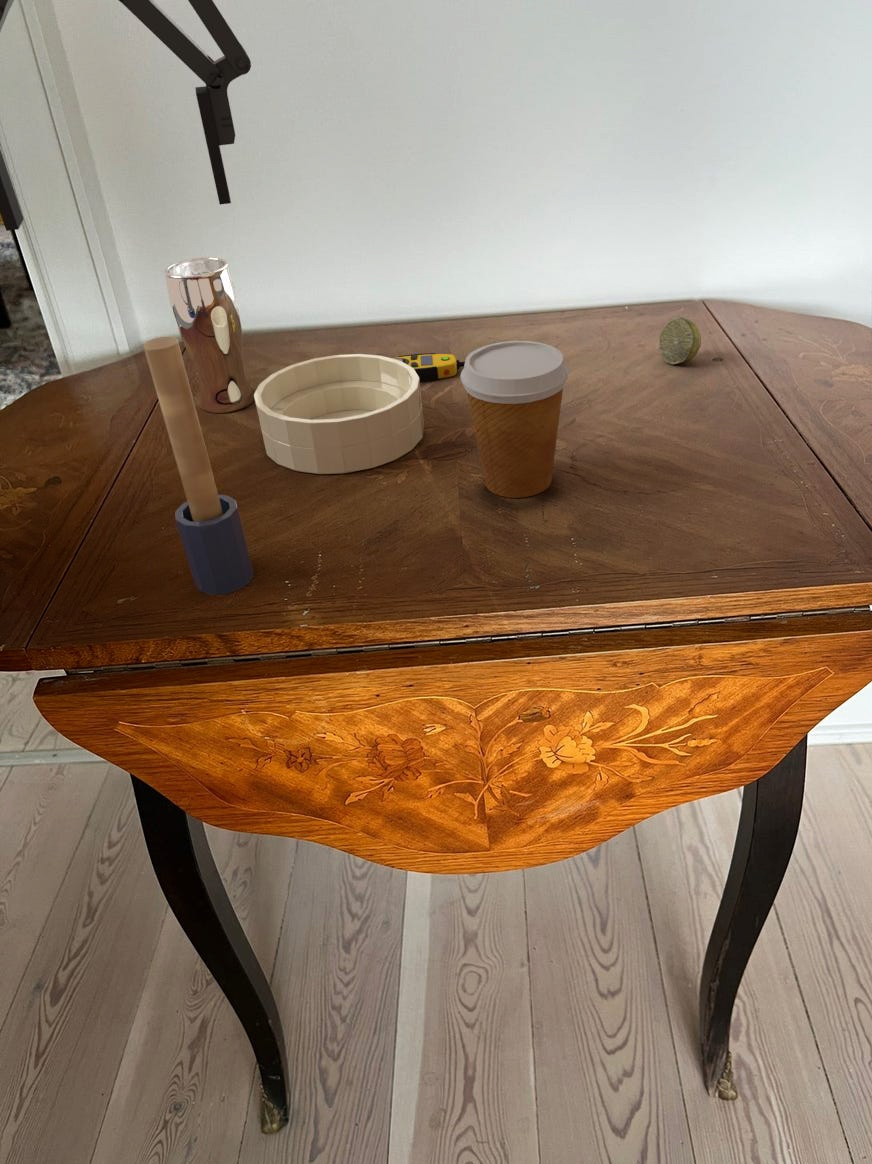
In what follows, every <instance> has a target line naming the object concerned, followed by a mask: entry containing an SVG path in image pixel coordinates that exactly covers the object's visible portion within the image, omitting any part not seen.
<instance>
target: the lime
mask: <svg viewBox="0 0 872 1164" xmlns="http://www.w3.org/2000/svg"><path fill="white" fill-rule="evenodd" d="M658 340H659V343H658V350H659V354H660V356H661V358H662V360H663V361H664V362H666V363H668V364H671V365H681V364H684V363H687V362H689V361H692V359H694V358H695V356H696V355H698V353H699V350H700V348H701V346H702V335H701V332H700V329H699V327H698V325H697V324H696V323H695V322H694V321H692V320H691V319H689V318H687V317H684V316H678V317H675V318H673V319H670V320H669V321H668V322H667V323H666V324H665V326H664V327H663V329H662V330H661V332H660V334H659V339H658Z"/></svg>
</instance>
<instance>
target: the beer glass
mask: <svg viewBox="0 0 872 1164" xmlns="http://www.w3.org/2000/svg"><path fill="white" fill-rule="evenodd" d="M163 273H164V277H165V283H166V289H167V293H168V294H167V295H168V299H169V304H170V308H171V312H172V315H173V319H174V322H175V326H176V329H177V331H178V334H179V336H180V338H181V340H182V343H183V345H184V347H185V350H186V351H187V354H188V356H189V358H190V361H191V363H192V365H193V368H194V370H195V373H196V377H197V381H198V388H199V403H200V404H199V405H200V407H201V408H202V409H203V410H204V411H206V412H208V413H212V414H224V413H225V414H226V413H231V412H233V413H234V412H236V411H240V410H242V409H245V408H247V407H248V406H250V405H251V404H252V403H253V402H255V399H254V393H255V392H254V390H253V389H252V387H251V384H250V382H249V379H248V376H247V372H246V369H245V362H244V352H243V350H244V349H243V328H242V327H243V326H242V315H241V310H240V303H239V299H238V295H237V290H236V287H235V285H234V281H233V278H232V277H233V276H232V274H231V271H230V268H229V263H228V261H227V260H226V259H223V258H222V257H221V258H220V257H214V256H204V257H203V256H202V257H194V258H189V259H188V258H187V259H183V260H179V261H176V262H174V263H172V264H170V265H168V266H166V267H165V269H164V271H163Z"/></svg>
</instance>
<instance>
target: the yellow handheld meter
mask: <svg viewBox="0 0 872 1164" xmlns="http://www.w3.org/2000/svg"><path fill="white" fill-rule="evenodd" d="M392 359H396V360H400V361H402V362H404V363H405V364H407V365H409V366H410V367H412V368H414V370H415V372H416V373H417V375H418V377H419V379H420V383H423V382H433V381H438V380H439V379H445V378H450V377H454V376H456V375H457V373H458V370H460V369H461V368H464V365H465V361H460V360H459V359H457V358H456V355H454V354H452V353H451V354H450V353H435V352H428V353H412V354H404V355H399V356H396V357H392Z"/></svg>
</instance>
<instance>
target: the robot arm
mask: <svg viewBox="0 0 872 1164" xmlns="http://www.w3.org/2000/svg"><path fill="white" fill-rule="evenodd" d="M14 1H15V0H0V32H1V31H2V29H3V26H4V25H5V22H6V20H7V19H6V18H7V17H8V14H9V11H10V10H11V8H12V6H13V3H14ZM118 1H119V2H120V3H121V4H122V5H123V6H124V7H126V9H127V10H129V12H131V14H132V15H134V17H136V18H137V19H138V20H139V21H140V23H142V24H143V25H144V26H145V27H146V28H147V29H148V30H149V31H150V32H151V33H152V34H154V36H155V37H157V38H158V39H159V41H160V42H162V44H164V45H165V46H166V48H168V49H169V50H170V51H171V52H172V53H173V54H174V55H175V56H176V57H177V58H178V59H179V60H180V61H181V62H182V63H183V64H185V65H186V67H188V69H189V70H191V71H192V72H193V73H194V75H196V76H197V77H198V78H199V80H201V81H202V82H203V83H204V84H205V86H196V87H195V88H194V89H195V96H196V101H197V106H198V109H199V115H200V119H201V124H202V128H203V134H204V137H205V142H206V148H207V151H208V156H209V161H210V166H211V171H212V175H213V180H214V185H215V190H216V195H217V198H218V203H219V205H220V206H221V205H227V204H229V205H230V204H232V201H231V196H230V195H231V194H230V190H229V185H228V181H227V176H226V171H225V170H226V169H225V166H224V162H223V157H222V151H221V146H227V145H235V139H236V131H235V126H234V121H233V116H232V110H231V105H230V101H229V95H228V87H229V85H230V83H231V82H233V81H234V80H236V79H237V78H239V77H241V76H244V75H246V74H248V73H249V72H250V71H251V67H252V61H251V59H250V57H249V55H248V53H247V51H246V49H245V48H244V46H243V44H242V43H241V42H240V40H239V39H238V37H237V35H236V34H235V33H234V31H233V29H232V28H231V26H230V25H229V23H228V21H227V19H226V18H225V16H224V15H223V13H222V12H221V10H220V9H219V8H218V5H217V4H216V3H215V1H214V0H187V1H188V2H189V4H190V6H191V7H192V9H193V10H194V11H195V13H196V15H197V17H198V18H199V19H200V21H201V22H202V24H203V25H204V27H205V29H206V31H208V33H209V35H210V37H212V40H213V41H214V42H215V44H216V45H217V47H218V48H219V50H220V52H221V53H222V55H223V56H221V57H219V58H217V59H216V60H215V59H213V58H212V57H211V56H210V55H209V54H208V53H207V52H206V51H205V50H204V49H203V48H202V47H201V46H200V45H199V44H198V43H197V42H196V41H195V40H194V39H192V37H191V36H190V35H189V34H188V33H187V32H186V31H184V29H183V28H181V26H179V25H178V23H176V21H174V20H173V18H171V16H169V15H168V13H166V12H165V10H163V8H161V7H160V5H158V4H157V3H156V2H155V0H118ZM0 217H1V220H2V223H3V225H4V228H5V231H7V232H8V231H16V230H17V231H18V230H19V229H20V228H21V226H22V223H23V221H24V215H23V213H22V209H21V207H20V204H19V201H18V198H17V194H16V191H15V189H14V186H13V182H12V180H11V177H10V173H9V170H8V168H7V165H6V162H5V159H4V156H3V153H2V150H1V149H0Z"/></svg>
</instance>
